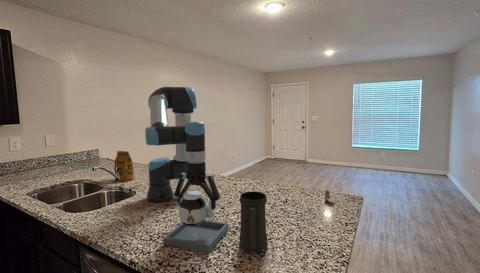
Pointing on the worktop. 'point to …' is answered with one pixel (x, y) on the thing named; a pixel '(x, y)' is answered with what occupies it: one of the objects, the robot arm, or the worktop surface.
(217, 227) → the tray
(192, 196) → the spread jar
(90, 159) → the worktop surface
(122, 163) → the coffee package
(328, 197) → the architectural model
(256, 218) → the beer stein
